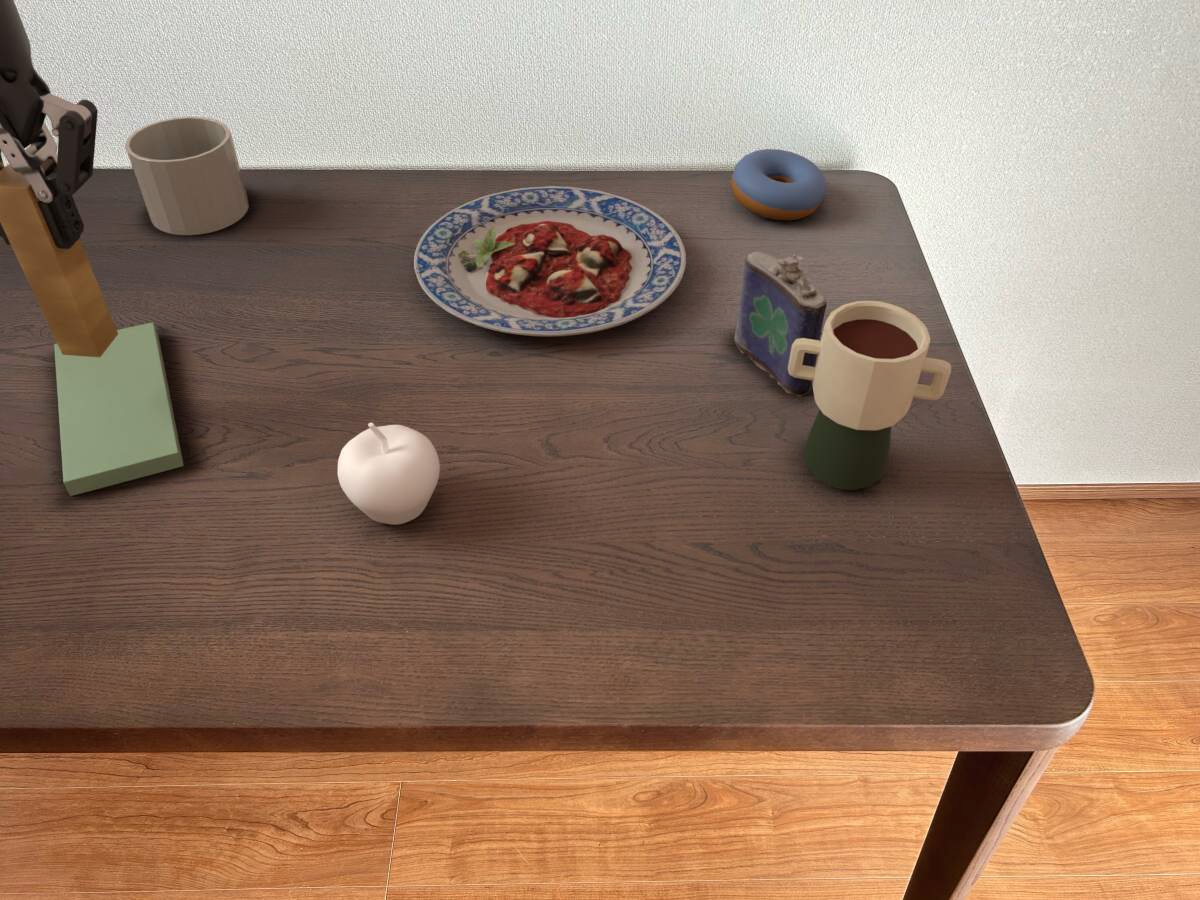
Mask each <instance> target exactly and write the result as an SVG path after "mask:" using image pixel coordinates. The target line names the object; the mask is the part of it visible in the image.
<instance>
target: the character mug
mask: <svg viewBox="0 0 1200 900" xmlns="http://www.w3.org/2000/svg"><path fill="white" fill-rule="evenodd" d="M930 344H931V335H930V333H929V330H928V328H927V326H926V325H925V324H924V323H923V322H922V321H921V320H920V319H919V317H917V316H916V315H915V314H913V313H911V312H910V311H908V310H906V309H905V308H904V307H903V308H902V307H901V306H898V305H895V304H892V303H888V302H884V301H879V300H878V301H876V300H857V301H852V302H849V303H844V304H842V305H840V306H839V307H837V308H836V309H834V310H832V311H831V312H830V314H829V315H828V317H827V319H826V320H825V323H824V325H823V328H822V332H821V337H820V340H812V339H806V338H800V339H796V340H795V341H794V343H793V344H792V347H791V353H790V358H789V363H788V372H789V374H790V375H791V376H793V377H795V378H800V379H806V380H812V384H811V387H812V390H813V398H814V403H815V405H816V406H817V407H818V409H819V410H818V412H817V414H816V417H815V419H814V421H813V424H812V426H811V428H810V431H809V433H808V436H807V438H806V442H805V444H804V446H803V450H802V453H803V460H804V464H805V466H806V467H807V468H808V469H809V471H810V472H811V473H812V475H813V476H814V477H815V478H816V479H818V480H819V481H821V482H823V483H825V484H826V485H828V486H830V487H831V488H837V489H841V490H847V491H853V490H859V489H864V488H869V487H870V486H872V485H874V484H875V483H876V482H878V481H879V480H880V479H882V477H883V475H884V473H885V470H886V468H887V465H888V459H889V453H890V445H891V435H892V427H893V426H896V424H897V423H898V422H900V421H901V420H902V419H903V418H904V417H905V416H906V415H907V413H908V412H909V410H910V408H911V405H912V402H913V400H914V398H916V399H922V400H929V401H938V400H940V398H941V397H942V396H943V395H944V393H945V390H946V389H947V384H948V382H949V379H950V376H951V372H952V364H951V363H950V362H948V361H946V360H944V359H939V358H932V357H927V353H928V350H929V347H930ZM804 353H812V354H817V356H816V363H815V367H811V366H805V365H802V363H803V358H804ZM922 372H924V373H932V374H934V376H933V379H932V382H931V385H928V384H922V383H919V380H920V377H921V374H922Z"/></svg>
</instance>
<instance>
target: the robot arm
mask: <svg viewBox="0 0 1200 900" xmlns="http://www.w3.org/2000/svg"><path fill="white" fill-rule="evenodd" d="M31 48H32V47H31V41H30V38H29V36H28V33H27V31H26V28H25V26H24V24H23V21H22V18H21V15H20V13H19V11H18V8H17V6H16V2H15V0H0V171H1V170H2V169H3V168H4V167H5V165H4V159H3V157H2V155H3V156H4V158H5V159H6V161H7V163H8V164H10V166H11V167H12V169H13V170H14V171H15V172H20V173H21V174H22V175H23V176H24V178H25V180H26V181H27V183H28V185H29V186H30V188H31V190H32V191H33V193H34V194H35V196H36V197H37V198H38V199H39V200H40V201H39V202H38V206H39V208H40V210H41V213H42V215H43V217H44V219H45V222H46V224H47V226H48V229H49V231H50V233H51V236H52V238H53V240H54V243H55V245H56V247H57V248H62V249H70V248H71V247H72V246H73V245H74V244H75V243H76V242H77V240H78V239H80V238H81V236H82V233H83V232H84V231H85V229H84V228H85V224H84V222H83V219H82V217H81V214H80V212H79V210H78V207H77V205H76V201H75V200H74V197H73V195H75V194H76V193H77V192H78V191H79V189H81V188H82V187H83V186H84V185H85V184H86V182H88V181H89V179H91V178H92V176H93V173H94V162H95V149H96V140H97V139H96V138H97V137H96V136H97V127H98V126H97V125H98V107H96V105H95V104H94V103H93V101H91V100H88V99H80V100H79V101H78V102H77V103H76V104H75V103H73V102H71V101H68V100H66V99H64V98H62V97H59V96H57V95H55V94H52V92H51V89H50V87H49V85H48V84H47V82H46V81H45V80H44V79H43V78H42V77H41V76H40V75H39V73H38V71H37V70H36V69H35V67H34V65H33V60H32V59H33V58H32V49H31ZM46 117H48V119H49V120H50V123H51V128H52V129H51V131H50V129H49V128H48V126H47V125H46V123H45V120H46ZM53 136H54V137H57V139H58V140H57V141H58V142H56V140H55V139H54V137H53ZM41 166H42V168H43V170H44V171H45V173H46V175H47V177H46V175H45V173H44V172H43V170H42V168H41ZM0 237H1V238H3V241H4V243H5V244H6V245H8V246H11V244H10V242H9V239H8V237H7V235H6V233H5V231H4V229H3V227H2V224H1V222H0Z"/></svg>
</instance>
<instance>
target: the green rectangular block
mask: <svg viewBox="0 0 1200 900" xmlns="http://www.w3.org/2000/svg"><path fill="white" fill-rule="evenodd" d="M117 332H118V335H117V336H116V338H115V339H114V340H113V342H112V343H111V344H110V345H109V347H108V348H107V349H106V351H105V352H104V353H103V354H102V356H101V357H87V356H74V355H62V353H61V351H60V348H59V346H58V344H57V342H56V343H54V344H53V347H54V348H53V349H54V361H55V363H54V364H55V377H56V378H55V379H56V390H57V391H56V392H57V405H58V407H57V408H58V419H59V421H58V422H59V436H60V450H61V451H60V452H61V467H62V480H63V481H62V483H63V484H64V486H65V488H66V490H67V492H68V494H69V496H70V497H74V496H77V495H80V494H84V493H88V492H92V491H96V490H100V489H103V488H108V487H111V486H114V485H118V484H122V483H125V482H126V483H127V482H129V481H134V480H138V479H141V478H145V477H148V476H152V475H155V474H160V473H164V472H167V471H171V470H174V469H178V468H182V467H184V460H183V456H182V449H181V445H180V440H179V434H178V430H177V424H176V419H175V414H174V409H173V405H172V404H173V403H172V399H171V394H170V388H169V384H168V377H167V373H166V368H165V363H164V358H163V353H162V347H161V343H160V337H159V334H158V331H157V328H156V325H155V323H154V322H153V321H152V322H147V323H143V324H138V325H134V326H130V327H125V328H121V329H120V328H119V329H117Z"/></svg>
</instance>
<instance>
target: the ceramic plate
mask: <svg viewBox="0 0 1200 900" xmlns="http://www.w3.org/2000/svg"><path fill="white" fill-rule="evenodd" d="M686 265H687V253H686V249H685V245H684V243H683V241H682V239H681V237H680V235H679V233H678V232H677V230H676V229H675V228H674V227H673V226H672V225H671V224H670V223H669V222H668V221H667V220H666V219H664V218H663V217H662V216H661V215H660V214H658V213H656V212H655V211H653V210H652V209H650V208H648V207H647V206H644V205H642V204H641V203H638V202H635V201H633V200H631V199H629V198H626V197H623V196H620V195H616V194H614V193H613V194H612V193H609V192H605V191H602V190H598V189H597V190H596V189H589V188H582V187H575V186H574V187H573V186H556V185H555V186H554V185H549V186H530V187H522V188H521V187H520V188H514V189H513V188H512V189H509V190H504V191H499V192H495V193H490V194H488V195H487V194H486V195H484V196H481V197H478V198H475V199H473V200H470V201H467V202H465V203H464V204H462V205H459V206H457V207H456V208H454V209H451V210H450V211H448V212H446V213H445V214H444V215H442V216H441V217H439V218H438V219H437V220H436V221H434V222H433V223H432V224H431V225H429V227H428V228H427V230H426V231H425V232H424V233H423V235H422V236H421V238H420V239H419V240H418V244H417V245H416V249H415V251H414V256H413V270H414V272H415V275H416V278H417V281H418V284H419V285H420V288H421V289H422V290H423V292H424V293H425V294H426V295H427V296H428V298H429V299H430V300H432V301H433V302H434V303H435V304H436V305H437V306H439V307H440V308H441V309H442V310H443V311H446V312H447V313H448V314H450V315H452V316H454V317H456V318H459V319H460V320H462V321H464V322H467V323H470V324H472V325H475V326H477V327H481V328H484V329H488V330H492V331H495V332H499V333H504V334H511V335H519V336H530V337H567V336H568V337H569V336H577V335H584V334H591V333H595V332H600V331H604V330H608V329H612V328H615V327H619V326H622V325H624V324H627V323H629V322H632V321H634V320H637V319H638V318H640V317H642V316H644V315H646V314H648V313H649V312H651V311H653V310H655V309H656V308H658V307H659V306H660V305H661V304H662V303H664V302H665V301H666V300H668V299H669V297H670V296H671V295H672V294H673V293H674V292H675V290H677V288H678V287H679V285H680V283H681V281H682V280H683V276H684V273H685V270H686Z"/></svg>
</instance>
